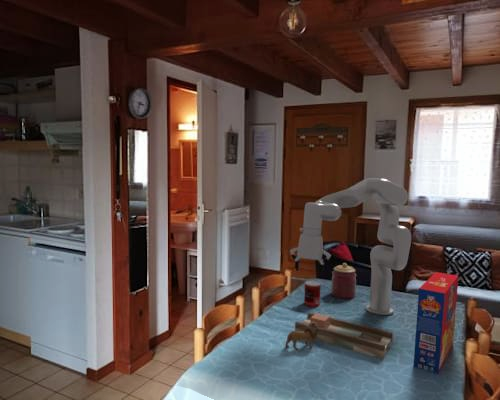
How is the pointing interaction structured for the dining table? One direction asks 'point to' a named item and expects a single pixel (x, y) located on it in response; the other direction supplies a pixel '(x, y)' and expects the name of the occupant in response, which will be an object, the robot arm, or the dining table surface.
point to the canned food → (312, 293)
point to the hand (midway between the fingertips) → (308, 271)
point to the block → (321, 320)
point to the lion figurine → (303, 335)
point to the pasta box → (435, 321)
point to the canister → (344, 282)
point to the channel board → (352, 336)
